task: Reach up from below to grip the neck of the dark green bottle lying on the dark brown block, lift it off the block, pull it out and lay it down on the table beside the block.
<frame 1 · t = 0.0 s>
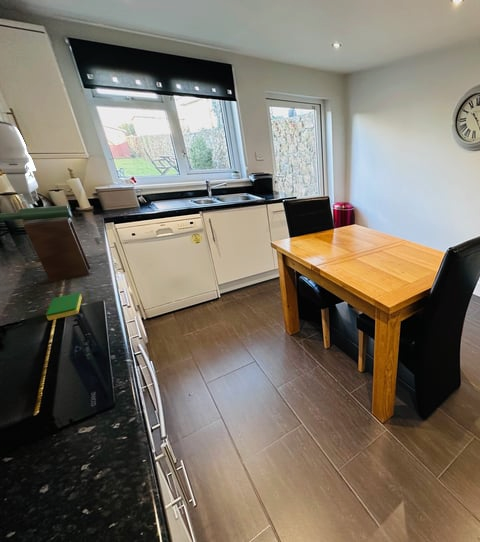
hand: (33, 202, 115), 30 cm above the worktop, tool pointing down, fingers open, 8 cm apart
dish sponge: (66, 309, 97), on the worktop
dark brown block: (71, 275, 121), on the worktop
bottle: (34, 214, 109), point 27 cm above the worktop, touching dark brown block
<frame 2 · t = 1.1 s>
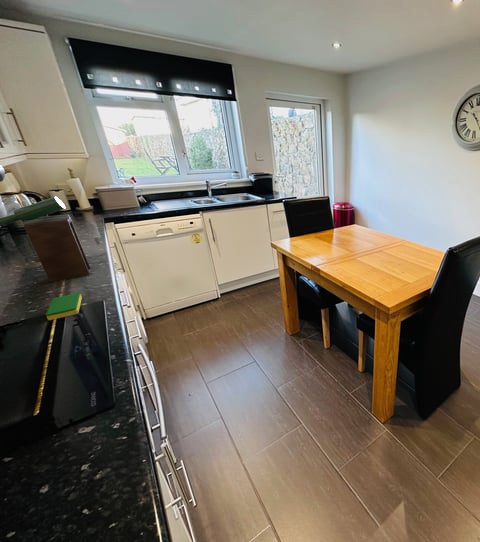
bottle: (29, 212, 108), point 28 cm above the worktop, tilted 18°
everything else where it was.
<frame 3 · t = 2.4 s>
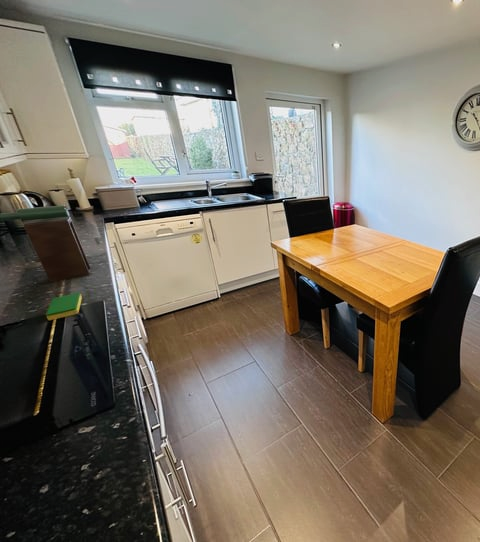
bottle: (31, 214, 108), point 27 cm above the worktop, touching dark brown block
everything else where it was.
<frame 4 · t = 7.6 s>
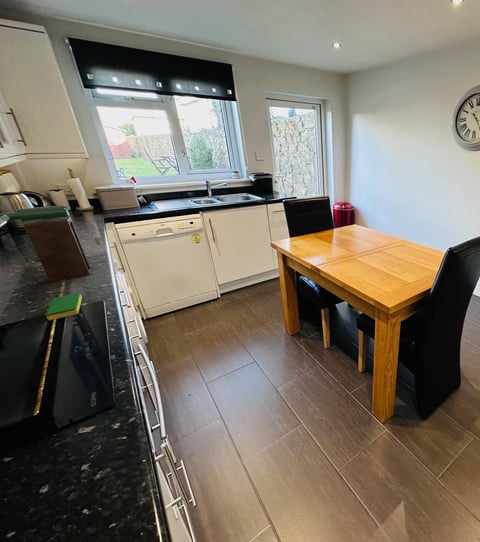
hand: (9, 215, 105), 27 cm above the worktop, tool pointing upward, fingers closed on bottle, 2 cm apart
bottle: (31, 214, 108), point 27 cm above the worktop, touching dark brown block, gripper
everything else where it was.
when the fingers open (14 cm above the worktop, at t = 19.5 s): bottle drops 11 cm, point 3 cm above the worktop.
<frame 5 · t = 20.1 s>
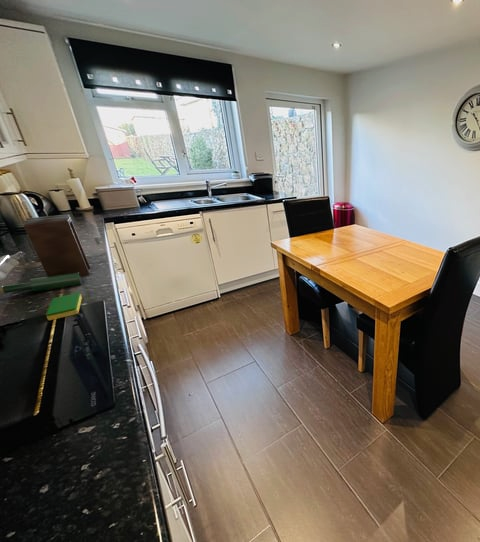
hand: (20, 256, 101), 15 cm above the worktop, tool pointing upward, fingers open, 8 cm apart
bottle: (44, 283, 107), point 3 cm above the worktop
everything else where it was.
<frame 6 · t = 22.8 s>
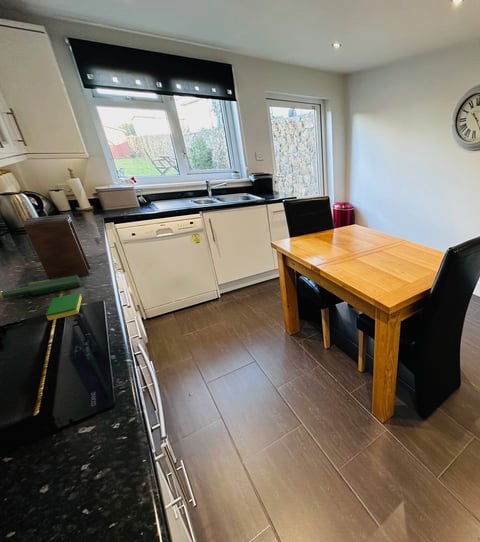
bottle: (43, 287, 105), point 3 cm above the worktop, tilted 50°
everything else where it was.
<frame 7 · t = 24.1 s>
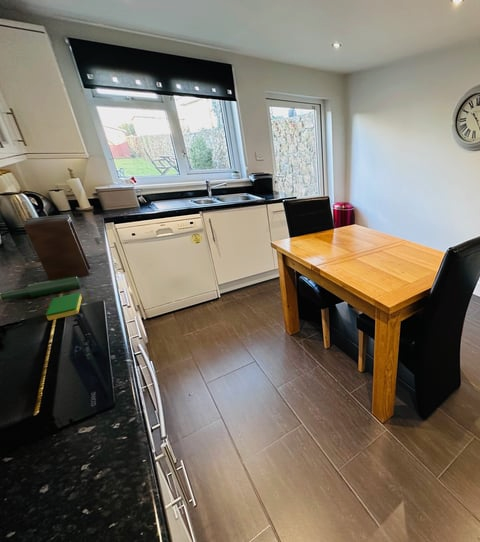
bottle: (42, 288, 104), point 3 cm above the worktop, tilted 86°
everything else where it was.
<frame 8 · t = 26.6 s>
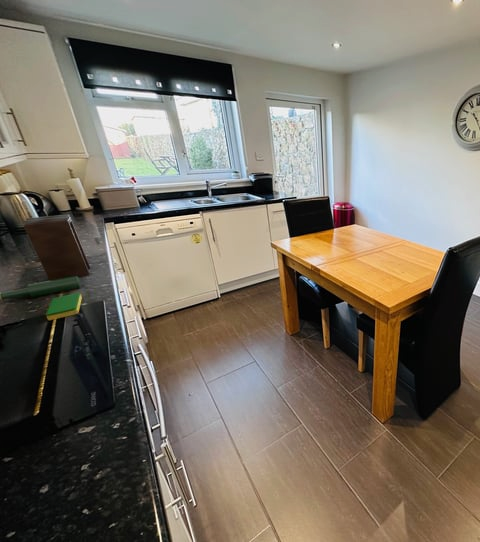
nothing on the worktop moved.
at the end: bottle inside the target area (5.3 cm from its centre), point 2.5 cm above the worktop; bottle point 2.5 cm above the worktop; the gripper is holding nothing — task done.
